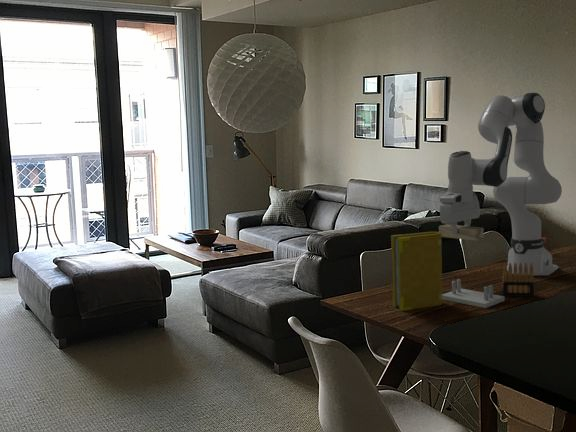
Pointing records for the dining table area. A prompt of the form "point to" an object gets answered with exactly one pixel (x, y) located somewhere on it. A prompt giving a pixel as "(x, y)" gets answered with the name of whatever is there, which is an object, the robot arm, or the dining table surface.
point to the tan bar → (462, 232)
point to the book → (417, 270)
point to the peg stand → (472, 296)
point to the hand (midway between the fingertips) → (460, 232)
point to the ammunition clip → (518, 281)
